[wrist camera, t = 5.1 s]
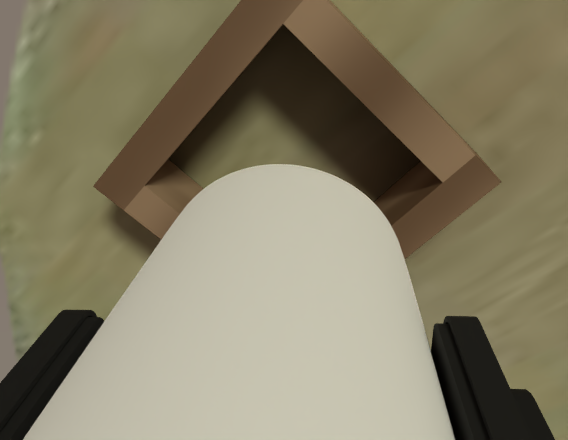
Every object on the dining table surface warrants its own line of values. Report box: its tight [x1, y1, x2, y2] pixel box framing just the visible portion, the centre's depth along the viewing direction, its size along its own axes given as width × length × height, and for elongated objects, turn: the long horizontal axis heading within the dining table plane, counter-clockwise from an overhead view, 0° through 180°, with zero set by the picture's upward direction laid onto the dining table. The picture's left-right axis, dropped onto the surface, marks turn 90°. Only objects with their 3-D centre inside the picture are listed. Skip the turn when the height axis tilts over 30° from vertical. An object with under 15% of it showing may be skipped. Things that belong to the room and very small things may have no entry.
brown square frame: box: [93, 0, 501, 259], centre depth 19 cm, size 10×10×3 cm
